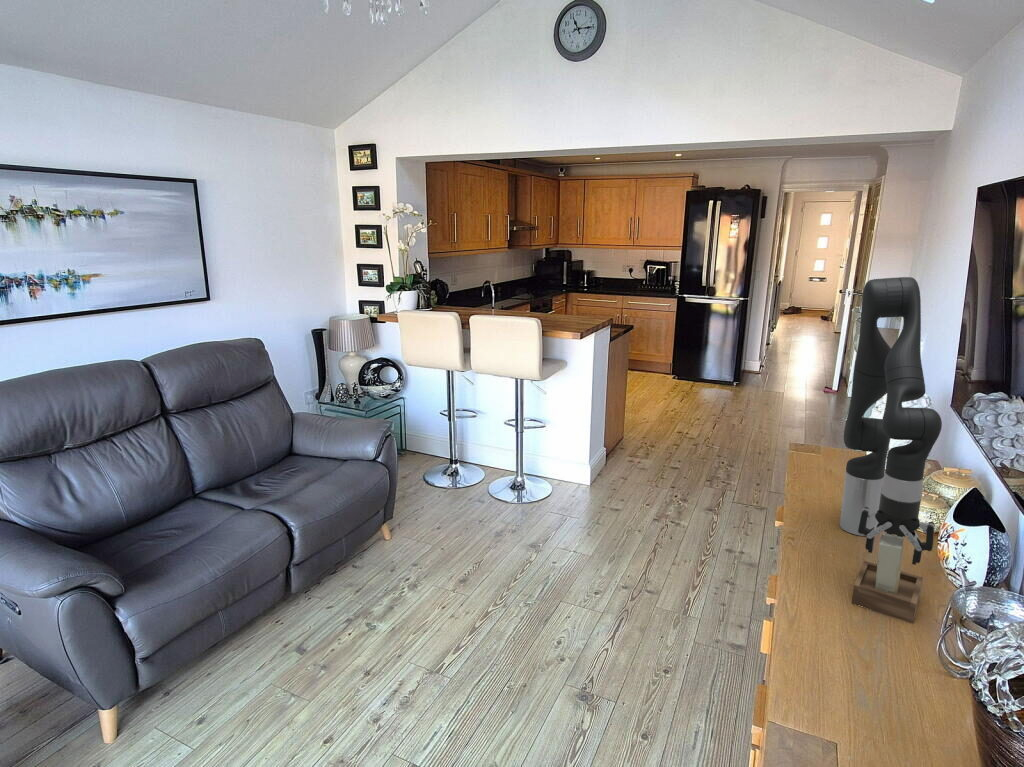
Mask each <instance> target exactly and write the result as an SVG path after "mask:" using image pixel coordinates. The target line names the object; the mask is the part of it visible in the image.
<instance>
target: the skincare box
mask: <svg viewBox="0 0 1024 767" xmlns="http://www.w3.org/2000/svg"><path fill="white" fill-rule="evenodd" d="M881 533H882V534H881V537H880V540H879V543H878V554H877V563H876V564H877V575H876V585H875V589H877V590H880V591H883V592H887V593H890V594H893V595H897V591H898V587H899V581H900V571H901V570H902V559H903V551H904V550H903V549H904V537H899V536H897V535H893V534H887V532H881Z"/></svg>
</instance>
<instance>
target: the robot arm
mask: <svg viewBox="0 0 1024 767" xmlns="http://www.w3.org/2000/svg"><path fill="white" fill-rule="evenodd" d="M921 302H922V301H921V291H920V285H919V283H918V281H917V280H916V279H915V278H914V277H912V276H909V277H908V276H901V277H900V276H899V277H885V278H873V279H869V280H868V281H867V282H866V283H865V285H864V286H863V289H862V296H861V304H860V305H861V307H860V308H861V310H860V325H859V337H858V344H857V350H856V356H855V360H854V361H855V362H854V367H853V372H852V373H853V374H852V375H853V376H852V386H851V395H850V402H849V407H848V410H847V416H846V421H845V426H844V431H843V443H844V445H845V447H846V448H847V449H849V450H854V451H863V452H870V453H868V454H865V455H862V456H857V457H853V458H850V459H849V460H848V461H847V462H846V465H845V475H844V483H843V484H844V485H843V492H842V502H841V510H840V518H839V527H840V528H841V529H842V530H844V531H845V532H847V533H849V534H852V535H855V536H856V535H857V536H860V537H861V536H862V537H866V541H865V550H867V551H868V553H869V554H872V553H873V552H874V545H875V544H874V543H875V538H876V536H879V535H880V534H881V533H887V534H891V535H896V536H899V537H906V539H907V541H908V542H909V543H910V544H911V545H912V546H913V556H912V561H911V564H912V565H914V566H916V565H917V564H920V562H921V559H922V553H923V551H928V552H932V551H933V547H934V540H935V528H936V527H935V526H936V524H935V522H933V521H929V522H928V523H927V522H921V521H920V519H919V515H920V509H921V503H922V497H923V489H924V483H923V481H924V474H925V468H926V467H925V466H926V462H927V459H928V457H929V455H930V453H931V451H932V449H933V447H934V445H935V444H936V442H937V441H938V439H939V436H940V434H941V431H942V429H943V428H942V426H943V421H942V417H941V414H939V412H937V411H936V410H935V409H933V408H929V407H904V406H903V403H905V402H911V401H912V402H913V401H915V400H918V399H921V398H923V397H924V395H925V394H926V382H925V376H924V370H923V365H922V354H921V353H922V352H921V339H922V336H921V335H922V332H921V331H922V325H921V324H922V322H921V321H922V315H921V314H922V308H921V306H922V305H921ZM881 318H882V319H883V318H884V319H885V318H903V322H902V323H903V324H902V329H901V332H900V333H899V336H898V338H897V339H896V341H895V342H894V344H893V345H892V346H890V345H889V343H887V341H886V340H885V338H884V336H883V335H882V333H881V332H880V330H879V329H880V328H879V326H878V320H879V319H881ZM885 395H886V401H885V407H884V411H883V412H884V413H883V416H882V418H875V417H865V413H866V412H867V411H868V410H869V408H871V407H872V406H873V405H874V404H876V403H877V402H878V401H880V400H881V399H882V398H883V397H885ZM891 439H892V440H901V441H910V442H909V443H907V444H903V445H899V446H894V447H891V448H890V449H889V447H890V444H891ZM919 529H921V530H922V533H924V534H926V536H925V538H926V540H925V541H923V542H922V540H921V539H920V537H919V536H918V533H917V532H916V531H917V530H919Z"/></svg>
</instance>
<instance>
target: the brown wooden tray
mask: <svg viewBox="0 0 1024 767" xmlns="http://www.w3.org/2000/svg"><path fill="white" fill-rule="evenodd" d="M877 564H878V563H874V562H870V561H867V560H864V561H863V562H862V565H861V568H860V570H859V572H858V574H857V577H856V580H855V582H854V583H853V591H852V599H851V604H853V605H855V604H856V605H855V606H858V605H860V606H859V607H861V606H863V607H862V608H864V607H865V609H867V608H868V609H867V610H870V609H871V610H870V611H874V612H876V613H878V614H879V613H880V614H883V615H886V616H889V617H892V618H895V619H898V620H900V621H904V622H907V623H911V624H914V621H915V616H916V612H917V608H918V604H919V601H920V596H921V591H922V584H923V579H924V577H923V576H919V575H915V574H912V573H908V572H905V571H900V581H899V587H898V591H897V595H893V594H890V593H887V592H883V591H880V590H877V589H875V585H876V575H877Z"/></svg>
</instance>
